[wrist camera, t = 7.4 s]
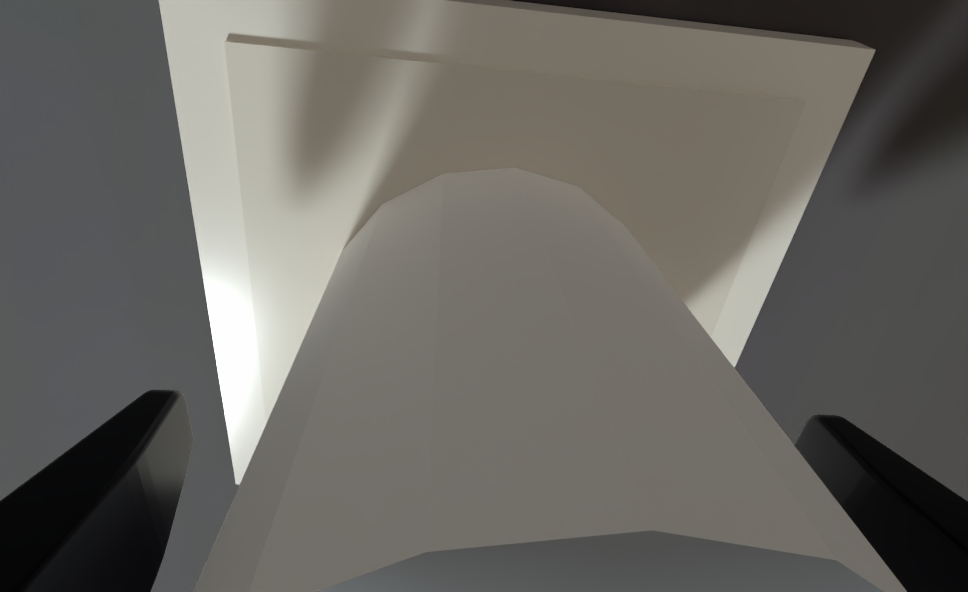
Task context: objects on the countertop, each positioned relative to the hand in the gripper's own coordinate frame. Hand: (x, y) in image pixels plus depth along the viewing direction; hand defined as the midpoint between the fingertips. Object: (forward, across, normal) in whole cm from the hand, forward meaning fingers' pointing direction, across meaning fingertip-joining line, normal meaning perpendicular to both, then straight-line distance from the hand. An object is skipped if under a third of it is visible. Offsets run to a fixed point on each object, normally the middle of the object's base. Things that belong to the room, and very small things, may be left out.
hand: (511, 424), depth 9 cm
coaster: (+3, 0, 0) cm, 3 cm away
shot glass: (+3, 0, 0) cm, 3 cm away
